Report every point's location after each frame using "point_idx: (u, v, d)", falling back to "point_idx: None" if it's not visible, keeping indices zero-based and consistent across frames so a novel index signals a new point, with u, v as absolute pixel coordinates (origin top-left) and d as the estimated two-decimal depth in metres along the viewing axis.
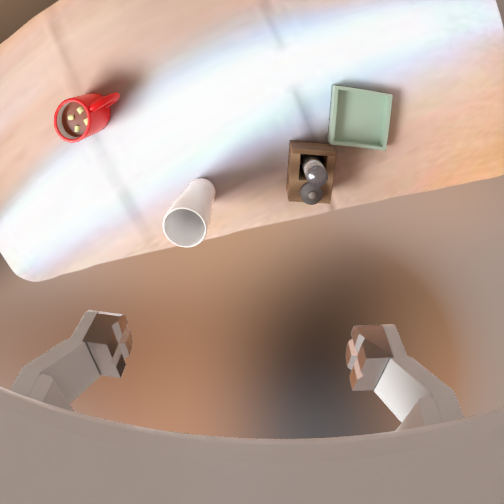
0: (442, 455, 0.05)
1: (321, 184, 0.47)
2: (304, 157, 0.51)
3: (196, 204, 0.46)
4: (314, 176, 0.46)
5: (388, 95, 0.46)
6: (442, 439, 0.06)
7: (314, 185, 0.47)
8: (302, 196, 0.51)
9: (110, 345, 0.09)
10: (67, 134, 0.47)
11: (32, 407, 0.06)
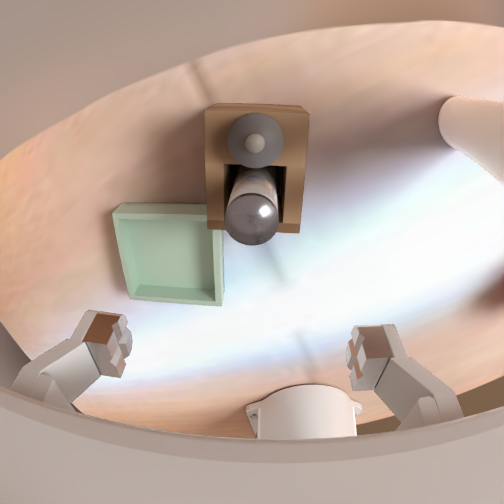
0: (442, 455, 0.05)
1: (239, 203, 0.19)
2: None
3: None
4: (259, 222, 0.19)
5: (135, 297, 0.33)
6: (442, 439, 0.06)
7: (257, 200, 0.18)
8: (278, 135, 0.20)
9: (110, 345, 0.09)
10: None
11: (32, 407, 0.06)
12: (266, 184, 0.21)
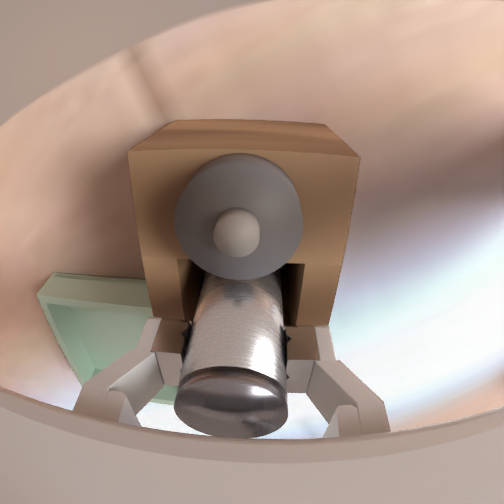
0: (442, 455, 0.05)
1: (201, 392, 0.08)
2: None
3: None
4: (246, 417, 0.08)
5: None
6: (442, 439, 0.06)
7: (241, 390, 0.08)
8: (292, 213, 0.09)
9: (182, 354, 0.09)
10: None
11: (32, 407, 0.06)
12: (263, 314, 0.10)
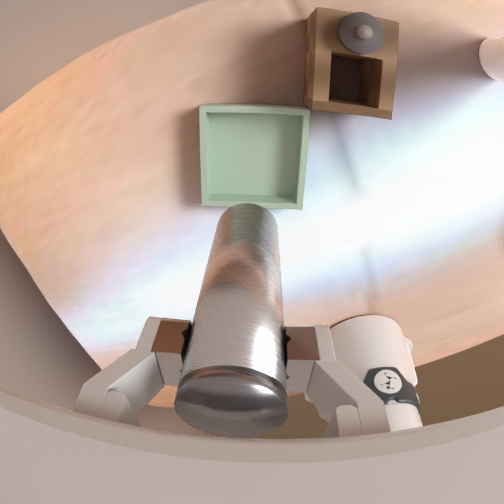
0: (442, 455, 0.05)
1: (200, 392, 0.08)
2: None
3: None
4: (246, 416, 0.08)
5: (209, 203, 0.33)
6: (442, 439, 0.06)
7: (241, 389, 0.08)
8: (380, 31, 0.19)
9: (182, 354, 0.09)
10: None
11: (32, 407, 0.06)
12: (262, 313, 0.10)
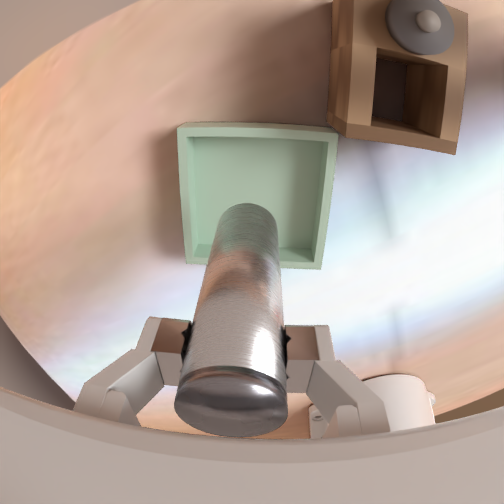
0: (442, 455, 0.05)
1: (200, 392, 0.08)
2: None
3: None
4: (246, 416, 0.08)
5: (195, 260, 0.24)
6: (442, 439, 0.06)
7: (241, 389, 0.08)
8: (449, 22, 0.11)
9: (182, 354, 0.09)
10: None
11: (32, 407, 0.06)
12: (262, 313, 0.10)
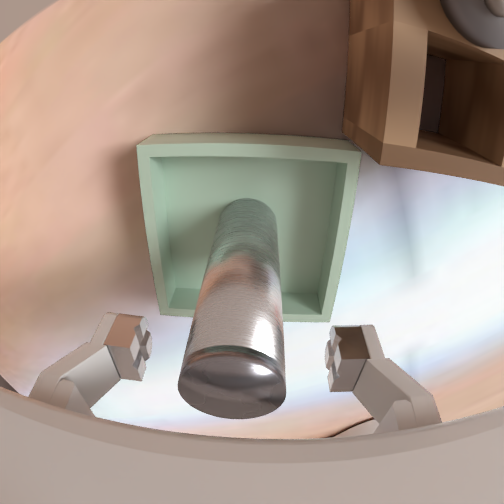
0: (442, 455, 0.05)
1: (203, 370, 0.08)
2: None
3: None
4: (246, 396, 0.09)
5: (172, 312, 0.19)
6: (442, 439, 0.06)
7: (241, 367, 0.08)
8: None
9: (132, 348, 0.09)
10: None
11: (32, 407, 0.06)
12: (262, 298, 0.11)
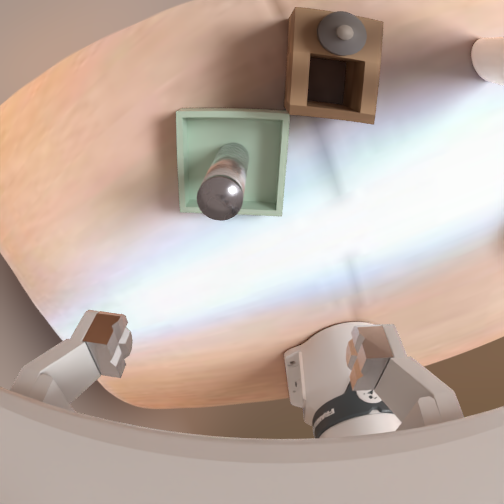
0: (442, 455, 0.05)
1: (208, 183, 0.21)
2: None
3: None
4: (226, 200, 0.22)
5: (187, 209, 0.32)
6: (442, 439, 0.06)
7: (223, 180, 0.21)
8: (362, 31, 0.19)
9: (110, 345, 0.09)
10: None
11: (32, 407, 0.06)
12: (234, 168, 0.24)
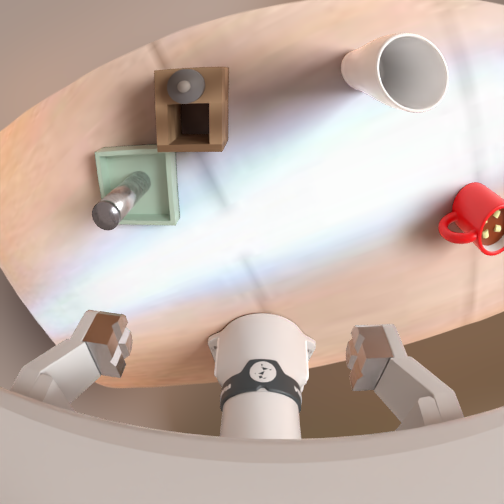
0: (442, 455, 0.05)
1: (97, 206, 0.31)
2: None
3: (385, 101, 0.22)
4: (108, 216, 0.31)
5: None
6: (442, 439, 0.06)
7: (105, 204, 0.30)
8: (199, 81, 0.28)
9: (110, 345, 0.09)
10: None
11: (32, 407, 0.06)
12: (120, 193, 0.33)
